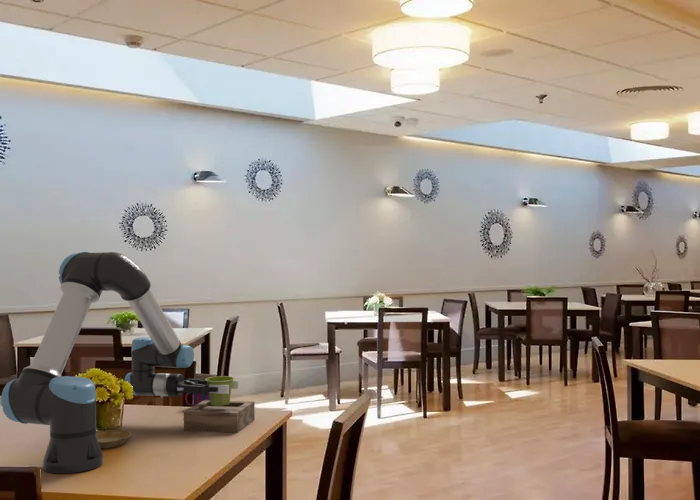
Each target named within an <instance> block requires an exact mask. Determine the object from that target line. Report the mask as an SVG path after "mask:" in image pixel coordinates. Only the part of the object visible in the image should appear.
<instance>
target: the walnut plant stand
mask: <svg viewBox="0 0 700 500" xmlns="http://www.w3.org/2000/svg"><path fill="white" fill-rule="evenodd" d="M255 412H256V411H255V401H252V400H251V401H243V400H230V403H229V405H223V406H213V405H211V402H210V400H204V401H202V402H200V403H198V404H196V405H194V406H190V407H189V408H187V409H185V410H184V411H183V431H184V432H187V431H189V432H215V433H217V432H218V433H239V432H240V431H241V430H243V429H245V427H247V426H249V423H250V424H251V423H252V422H254V421H255V416H256V415H255V414H256V413H255ZM253 420H254V421H253Z"/></svg>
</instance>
